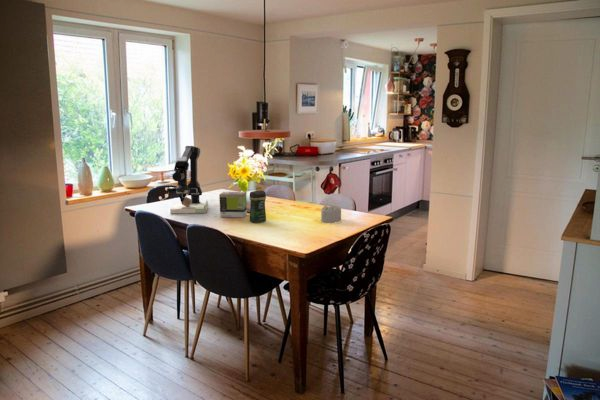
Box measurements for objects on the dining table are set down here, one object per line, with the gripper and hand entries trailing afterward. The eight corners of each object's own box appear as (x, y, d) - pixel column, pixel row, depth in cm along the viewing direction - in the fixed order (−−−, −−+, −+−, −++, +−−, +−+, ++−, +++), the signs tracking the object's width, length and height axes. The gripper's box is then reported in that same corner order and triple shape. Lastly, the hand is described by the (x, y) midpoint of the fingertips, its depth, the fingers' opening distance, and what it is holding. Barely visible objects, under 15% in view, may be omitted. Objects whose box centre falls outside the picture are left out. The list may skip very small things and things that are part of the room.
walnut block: (182, 202, 308) (185, 196, 308) (189, 205, 309) (192, 199, 308) (181, 204, 304) (184, 198, 303) (187, 207, 304) (191, 201, 304)
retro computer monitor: (247, 214, 299) (246, 191, 296) (243, 218, 289) (243, 194, 286) (223, 213, 300) (223, 191, 297) (219, 217, 290) (219, 193, 288)
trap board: (174, 208, 315) (174, 201, 314) (207, 207, 317) (207, 200, 316) (170, 214, 299) (170, 206, 298) (205, 213, 301) (205, 205, 300)
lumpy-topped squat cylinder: (343, 219, 285) (343, 205, 284) (332, 224, 275) (332, 209, 273) (328, 217, 291) (328, 203, 289) (317, 221, 281) (317, 207, 279)
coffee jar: (255, 224, 274) (255, 192, 271) (247, 221, 280) (246, 190, 276) (268, 221, 281) (268, 190, 277) (260, 218, 287) (259, 188, 283)
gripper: (165, 180, 295) (165, 205, 297) (195, 181, 296) (195, 205, 299) (168, 178, 306) (168, 202, 308) (197, 179, 307) (197, 203, 310)
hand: (182, 203), depth 306 cm, fingers closed, pressing on walnut block
